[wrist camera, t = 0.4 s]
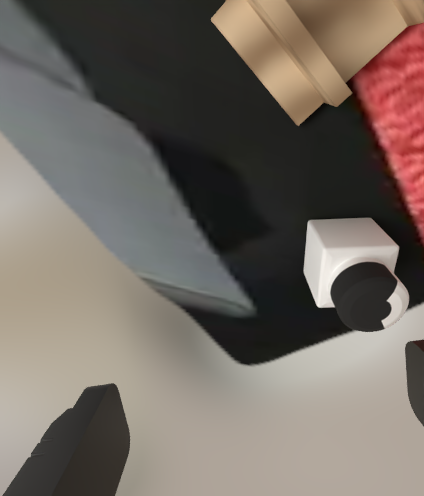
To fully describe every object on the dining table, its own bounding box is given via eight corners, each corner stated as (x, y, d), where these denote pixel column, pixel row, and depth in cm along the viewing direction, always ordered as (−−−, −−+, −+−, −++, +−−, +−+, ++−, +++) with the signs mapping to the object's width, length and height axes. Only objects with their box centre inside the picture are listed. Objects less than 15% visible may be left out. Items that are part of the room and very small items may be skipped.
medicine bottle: (302, 272, 42) (329, 342, 31) (307, 218, 38) (339, 277, 28) (362, 270, 41) (410, 340, 31) (371, 216, 38) (429, 274, 27)
